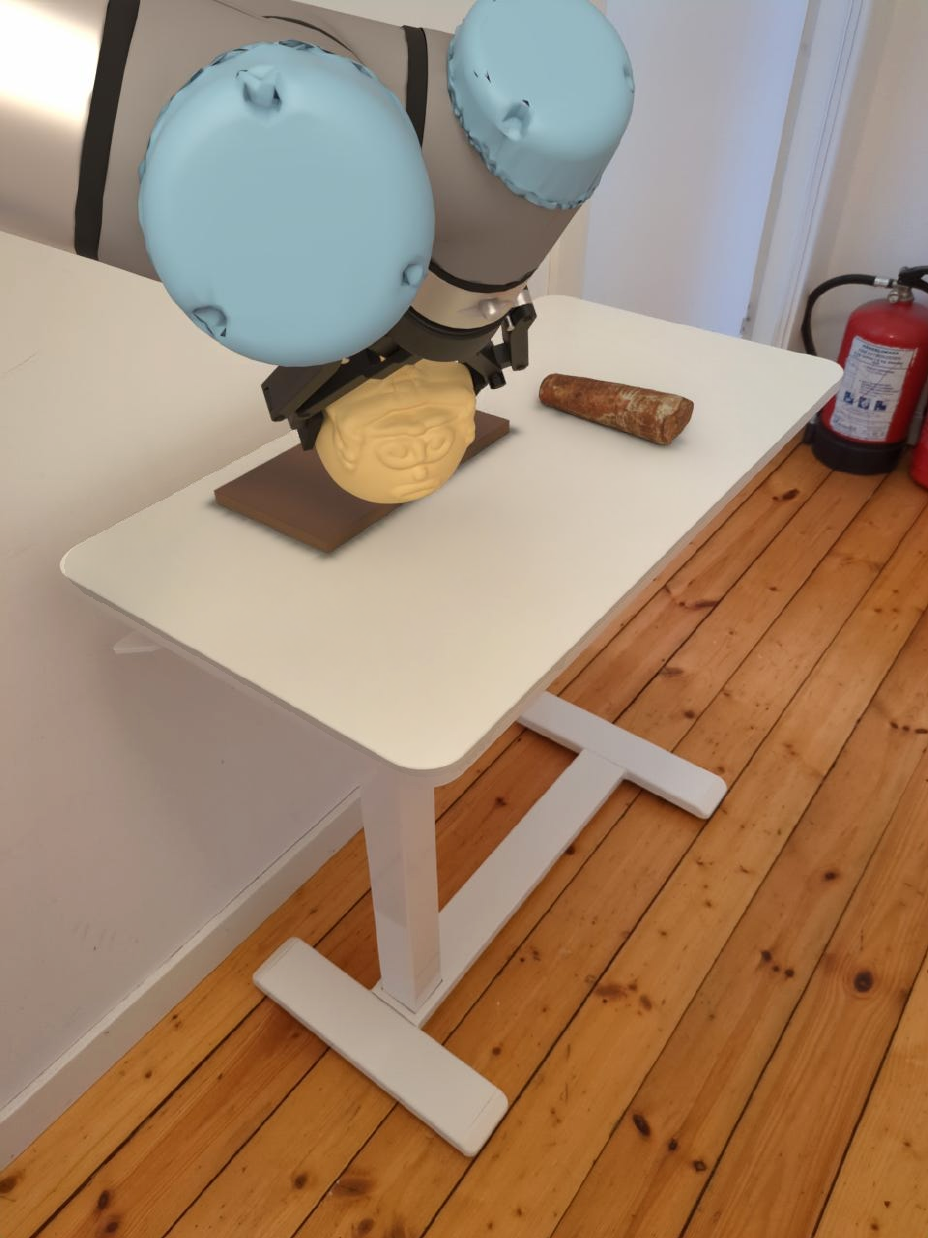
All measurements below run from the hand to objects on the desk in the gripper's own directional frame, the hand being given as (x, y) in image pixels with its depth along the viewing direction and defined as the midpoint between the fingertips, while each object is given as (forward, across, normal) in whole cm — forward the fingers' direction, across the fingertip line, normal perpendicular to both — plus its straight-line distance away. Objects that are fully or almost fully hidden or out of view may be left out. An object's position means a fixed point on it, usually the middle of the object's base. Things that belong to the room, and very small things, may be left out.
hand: (379, 416), depth 69 cm
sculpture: (+1, 0, -5) cm, 5 cm away
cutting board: (+28, +6, +4) cm, 29 cm away
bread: (+26, +34, +2) cm, 43 cm away
